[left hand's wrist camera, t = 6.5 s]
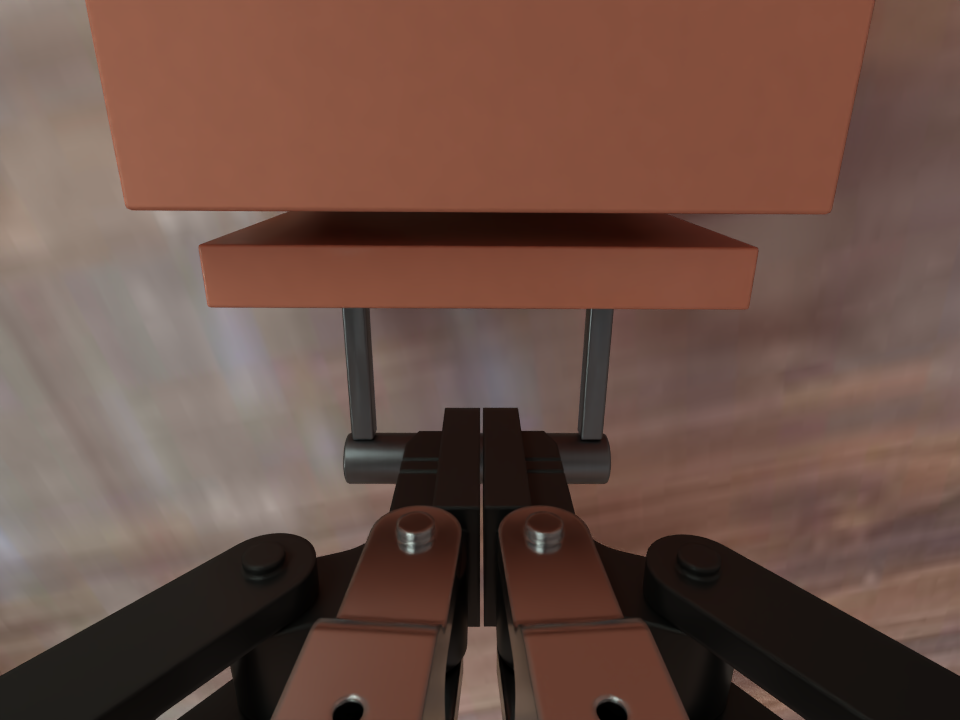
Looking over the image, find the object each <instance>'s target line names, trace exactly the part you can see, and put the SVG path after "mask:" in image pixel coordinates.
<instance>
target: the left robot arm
mask: <svg viewBox="0 0 960 720" xmlns="http://www.w3.org/2000/svg"><path fill="white" fill-rule="evenodd" d="M483 572H484V626H496V630H497V678H498V686H499V694H500V703H501V711H502V719H503V720H783V719H781V718H780V717H779V716H777V715H776V714H775V713H773V712H772V711H771V710H769V709H768V708H766V707H765V706H764V705H762V704H761V703H760V702H758V701H757V700H755V699H754V698H753V697H751V696H750V695H749V694H747V693H746V692H745V691H743V690H742V689H740V688H739V687H738V686H736V685H735V684H734V683H732V682H731V680H732V675H733V670H734V669H736V670H737V671H738V672H740V673H741V674H743V675H744V676H745V677H747V678H748V679H750V680H751V681H752V682H754V683H755V684H757V685H758V686H759V687H761V688H762V689H764V690H765V691H766V692H768V693H769V694H771V695H772V696H774V697H775V698H776V699H778V700H779V701H781V702H782V703H783V704H785V705H786V706H788V707H789V708H790V709H792V710H793V711H795V712H796V713H797V714H799V715H800V716H801V717H803V718H804V719H805V720H960V676H959V675H957V674H955V673H953V672H951V671H950V670H948V669H946V668H944V667H942V666H941V665H939V664H937V663H935V662H933V661H932V660H930V659H928V658H926V657H924V656H922V655H921V654H919V653H917V652H915V651H913V650H912V649H910V648H908V647H906V646H904V645H903V644H901V643H899V642H897V641H895V640H894V639H892V638H890V637H888V636H886V635H885V634H883V633H881V632H879V631H877V630H876V629H874V628H872V627H870V626H868V625H867V624H865V623H863V622H861V621H859V620H858V619H856V618H854V617H852V616H850V615H848V614H847V613H845V612H843V611H841V610H839V609H838V608H836V607H834V606H832V605H830V604H829V603H827V602H825V601H823V600H821V599H820V598H818V597H816V596H814V595H812V594H811V593H809V592H807V591H805V590H803V589H802V588H800V587H798V586H796V585H794V584H793V583H791V582H789V581H787V580H785V579H784V578H782V577H780V576H778V575H776V574H774V573H773V572H771V571H769V570H767V569H765V568H764V567H762V566H760V565H758V564H756V563H755V562H753V561H751V560H749V559H747V558H746V557H744V556H742V555H740V554H738V553H737V552H735V551H733V550H731V549H729V548H728V547H726V546H724V545H722V544H720V543H718V542H715V541H713V540H710V539H707V538H703V537H699V536H694V535H671V536H666V537H663V538H660V539H658V540H657V541H655V542H654V543H653V544H651V546H650V547H649V549H648V551H647V554H646V557H644V556H639V555H635V554H630V553H626V552H622V551H618V550H614V549H611V548H609V547H606V546H604V545H602V544H600V543H598V542H596V541H595V540H593V539H592V536H591V534H590V531H589V529H588V527H587V525H586V524H585V523H584V522H583V520H581V519H580V518H579V517H578V516H576V515H575V512H574V508H573V504H572V500H571V496H570V492H569V488H568V484H567V480H566V476H565V473H564V468H563V465H562V461H561V457H560V453H559V449H558V445H557V443H556V442H555V441H554V440H553V439H552V438H551V437H550V436H549V435H548V434H546V433H545V432H544V431H521V426H520V419H519V412H518V408H483ZM468 627H480V408H445V413H444V421H443V428H442V431H419V432H418V433H417V434H416V435H415V436H414V437H413V438H411V439H410V440H409V441H408V442H407V443H406V446H405V450H404V454H403V458H402V462H401V466H400V473H399V475H398V479H397V483H396V487H395V491H394V495H393V499H392V504H391V508H390V512H389V513H387V514H385V515H384V516H382V517H381V518H380V519H379V520H377V522H376V523H375V524H374V525H373V527H372V529H371V531H370V534H369V536H368V539H367V541H366V543H365V544H363V545H361V546H359V547H356V548H353V549H351V550H347V551H343V552H339V553H335V554H330V555H326V556H321V557H317V558H316V552H315V549H314V547H313V546H312V544H311V543H310V542H309V541H307V540H306V539H304V538H302V537H300V536H297V535H293V534H287V533H275V534H267V535H262V536H258V537H254V538H252V539H249V540H246V541H244V542H242V543H240V544H238V545H236V546H234V547H232V548H231V549H229V550H227V551H225V552H223V553H222V554H220V555H218V556H216V557H214V558H213V559H211V560H209V561H207V562H205V563H204V564H202V565H200V566H198V567H196V568H195V569H193V570H191V571H189V572H187V573H186V574H184V575H182V576H180V577H178V578H177V579H175V580H173V581H171V582H169V583H167V584H166V585H164V586H162V587H160V588H158V589H157V590H155V591H153V592H151V593H149V594H148V595H146V596H144V597H142V598H140V599H139V600H137V601H135V602H133V603H131V604H130V605H128V606H126V607H124V608H122V609H121V610H119V611H117V612H115V613H113V614H112V615H110V616H108V617H106V618H104V619H103V620H101V621H99V622H97V623H95V624H93V625H92V626H90V627H88V628H86V629H84V630H83V631H81V632H79V633H77V634H75V635H74V636H72V637H70V638H68V639H66V640H65V641H63V642H61V643H59V644H57V645H56V646H54V647H52V648H50V649H48V650H47V651H45V652H43V653H41V654H39V655H38V656H36V657H34V658H32V659H30V660H29V661H27V662H25V663H23V664H21V665H19V666H18V667H16V668H14V669H12V670H10V671H9V672H7V673H5V674H3V675H1V676H0V720H156V719H157V718H158V717H159V716H160V715H161V714H163V713H164V712H165V711H167V710H168V709H170V708H171V707H172V706H174V705H175V704H177V703H178V702H179V701H181V700H182V699H184V698H185V697H187V696H188V695H189V694H191V693H192V692H194V691H195V690H196V689H198V688H199V687H201V686H202V685H203V684H205V683H206V682H208V681H209V680H210V679H212V678H213V677H215V676H216V675H217V674H219V673H220V672H222V671H223V670H224V669H226V668H227V667H229V666H230V667H231V672H232V677H233V679H232V680H230V681H229V682H228V683H226V684H225V685H224V686H222V687H221V688H220V689H218V690H217V691H215V692H214V693H213V694H211V695H210V696H209V697H207V698H206V699H205V700H203V701H202V702H200V703H199V704H198V705H196V706H195V707H194V708H192V709H191V710H189V711H188V712H187V713H185V714H184V715H183V716H181V717H180V718H179V719H177V720H457V719H458V711H459V703H460V694H461V686H462V678H463V656H464V654H465V652H466V649H467V633H468Z"/></svg>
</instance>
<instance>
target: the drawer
mask: <svg viewBox="0 0 960 720" xmlns="http://www.w3.org/2000/svg"><path fill="white" fill-rule="evenodd" d="M199 254H200V260H201V266H202V273H203V279H204V285H205V292H206V298H207V304H208V307H233V308H342V314H343V327H344V340H345V353H346V366H347V379H348V392H349V405H350V418H351V431H352V433H350V434H348V436H347V438H346V442H345V446H344V456H343V469H344V476H345V480H346V482H347V483H349V484H396V483H397V479H398V475H399V473H400V466H401V462H402V458H403V454H404V450H405V446H406V443H407V442H408V441H409V440H410V439H411V438H413V437H414V436H415V435H416V434H417V433H376V430H377V426H376V409H375V393H374V376H373V359H372V343H371V326H370V309H369V308H481V309H586V320H585V334H584V348H583V362H582V376H581V390H580V404H579V418H578V432H579V433H546V434H548V435H549V436H550V437H551V438H552V439H553V440H554V441H555V442H556V443H557V445H558V449H559V453H560V457H561V461H562V465H563V468H564V473H565V476H566V480H567V484H605V483H607V482H608V480H609V476H610V470H611V453H610V446H609V441H608V438H607V436H606V435H605V434H603V425H604V413H605V402H606V391H607V379H608V368H609V356H610V345H611V334H612V322H613V311H614V309H730V310H745V309H748V308H749V304H750V298H751V292H752V286H753V280H754V274H755V268H756V263H757V257H758V248H757V247H755V246H752V245H749V244H746V243H744V242H741V241H738V240H736V239H733V238H730V237H727V236H725V235H722V234H719V233H717V232H714V231H711V230H709V229H706V228H703V227H700V226H698V225H695V224H692V223H690V222H687V221H684V220H681V219H679V218H676V217H673V216H671V215H668V214H665V213H510V212H337V211H289V212H287V213H284V214H281V215H278V216H276V217H273V218H270V219H268V220H265V221H262V222H260V223H257V224H254V225H251V226H249V227H246V228H243V229H241V230H238V231H235V232H233V233H230V234H227V235H225V236H222V237H219V238H216V239H214V240H211V241H208V242H206V243H203V244H200V245H199ZM480 484H483V433H480Z"/></svg>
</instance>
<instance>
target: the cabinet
mask: <svg viewBox="0 0 960 720" xmlns="http://www.w3.org/2000/svg"><path fill="white" fill-rule="evenodd" d="M85 1H86V7H87V12H88V17H89V22H90V27H91V32H92V37H93V42H94V47H95V53H96V58H97V63H98V68H99V73H100V78H101V83H102V88H103V94H104V99H105V104H106V109H107V114H108V119H109V124H110V129H111V134H112V140H113V145H114V150H115V155H116V160H117V165H118V170H119V175H120V180H121V186H122V191H123V196H124V201H125V205H126V207H127V208H128V209H130V210H165V211H337V212H510V213H682V214H827V213H830V212H831V210H832V206H833V202H834V197H835V192H836V187H837V182H838V177H839V173H840V168H841V163H842V158H843V153H844V148H845V144H846V139H847V134H848V129H849V124H850V120H851V115H852V110H853V105H854V100H855V95H856V91H857V86H858V81H859V76H860V71H861V67H862V62H863V57H864V52H865V47H866V42H867V38H868V33H869V28H870V23H871V18H872V14H873V9H874V4H875V0H85Z"/></svg>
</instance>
